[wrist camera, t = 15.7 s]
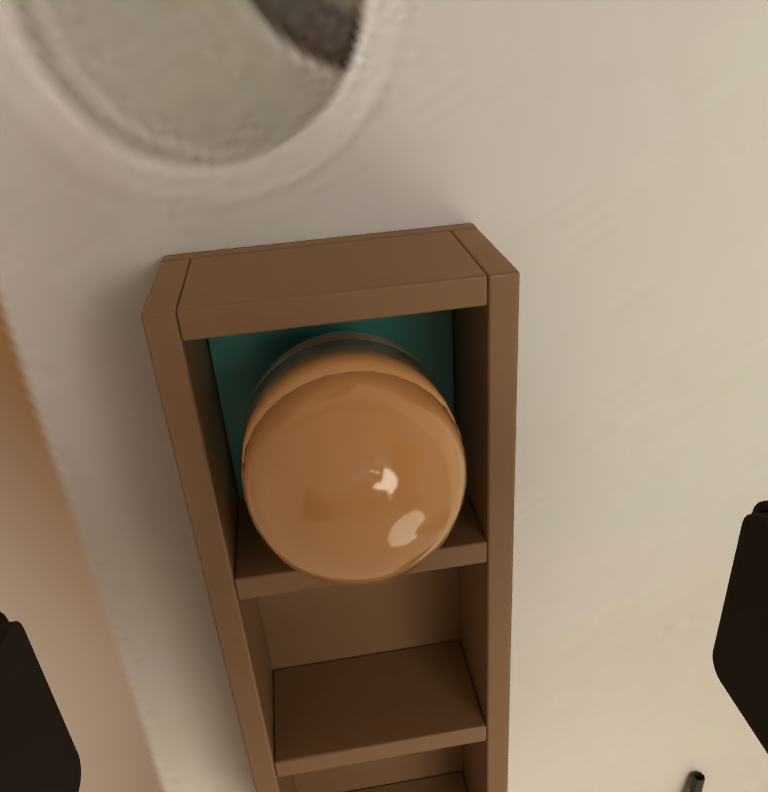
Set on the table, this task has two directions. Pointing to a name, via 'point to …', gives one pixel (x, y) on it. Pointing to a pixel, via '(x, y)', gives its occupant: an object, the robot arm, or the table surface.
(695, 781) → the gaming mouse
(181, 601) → the table surface
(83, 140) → the table surface
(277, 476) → the egg
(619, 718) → the table surface
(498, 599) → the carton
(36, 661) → the robot arm
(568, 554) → the table surface
